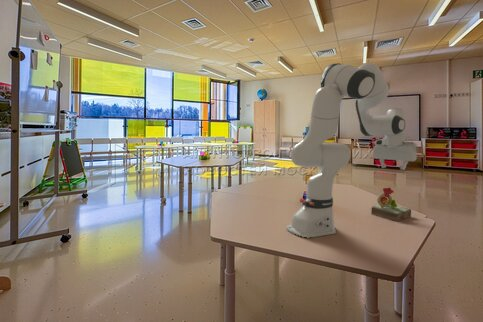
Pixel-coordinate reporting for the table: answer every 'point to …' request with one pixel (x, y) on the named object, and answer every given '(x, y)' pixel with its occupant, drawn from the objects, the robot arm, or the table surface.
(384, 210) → the sage green square tile
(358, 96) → the robot arm
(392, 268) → the table surface
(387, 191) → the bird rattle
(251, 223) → the table surface
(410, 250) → the table surface
